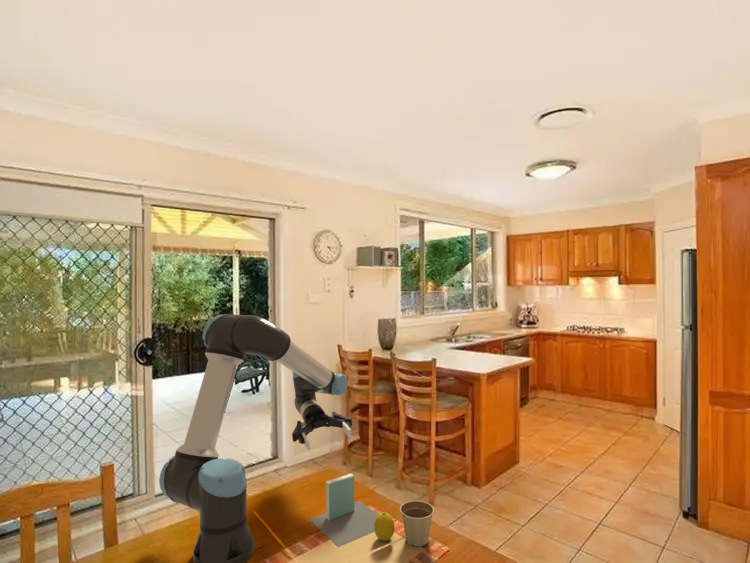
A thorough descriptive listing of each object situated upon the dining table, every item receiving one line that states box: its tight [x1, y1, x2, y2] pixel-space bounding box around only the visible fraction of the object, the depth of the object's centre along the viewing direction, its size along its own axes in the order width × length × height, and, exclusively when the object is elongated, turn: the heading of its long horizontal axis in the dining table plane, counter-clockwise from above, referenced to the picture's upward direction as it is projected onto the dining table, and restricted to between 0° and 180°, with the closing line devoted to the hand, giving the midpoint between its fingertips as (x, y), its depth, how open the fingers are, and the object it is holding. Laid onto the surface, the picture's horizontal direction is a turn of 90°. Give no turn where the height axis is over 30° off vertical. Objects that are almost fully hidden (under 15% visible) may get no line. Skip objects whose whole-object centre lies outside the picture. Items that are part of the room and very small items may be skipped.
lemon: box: [374, 511, 395, 542], centre depth 120 cm, size 6×6×8 cm
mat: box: [308, 500, 379, 548], centre depth 129 cm, size 18×17×1 cm
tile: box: [325, 473, 355, 520], centre depth 133 cm, size 9×2×11 cm, turn 126°
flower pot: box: [399, 500, 435, 547], centre depth 120 cm, size 9×9×9 cm
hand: (329, 439), depth 136 cm, fingers open, 13 cm apart
